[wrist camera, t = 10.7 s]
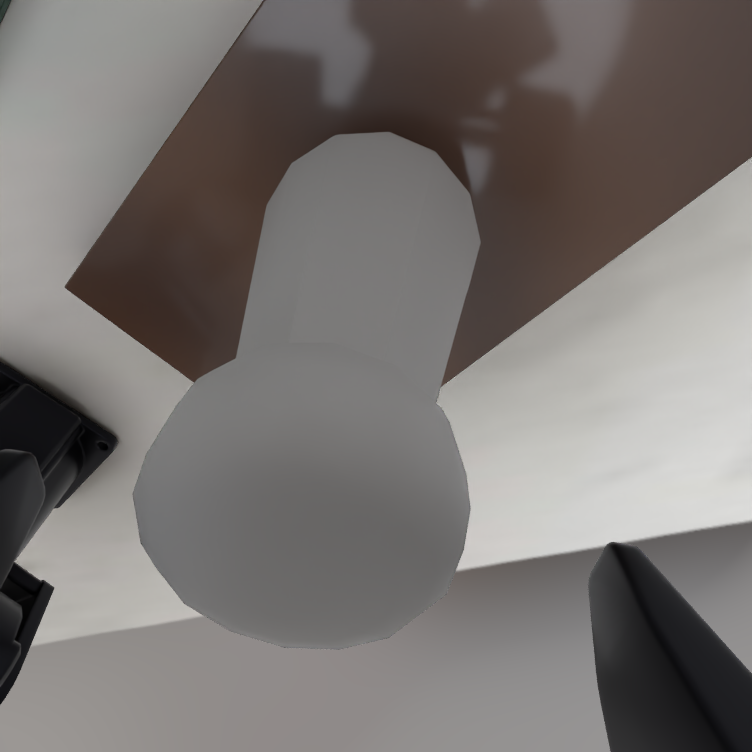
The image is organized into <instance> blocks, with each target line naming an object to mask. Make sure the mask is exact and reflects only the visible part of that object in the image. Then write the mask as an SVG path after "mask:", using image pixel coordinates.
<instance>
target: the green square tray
mask: <svg viewBox="0 0 752 752" xmlns="http://www.w3.org/2000/svg"><path fill="white" fill-rule="evenodd" d="M10 1H11V0H0V23H1V20H2V18H3V16H4V14H5V12H6V10H7V7H8V5H9V3H10Z"/></svg>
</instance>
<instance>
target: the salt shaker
mask: <svg viewBox="0 0 752 752" xmlns="http://www.w3.org/2000/svg"><path fill="white" fill-rule="evenodd" d="M480 243H481V241H480V236H479V232H478V227H477V223H476V219H475V214H474V210H473V205H472V201H471V196H470V194H469V192H468V191H467V189H466V188H465V187H464V186H463V185H462V183H461V182H460V181H459V180H458V178H457V177H456V176H455V175H454V174H453V172H452V171H451V170H450V169H449V167H448V166H447V165H446V164H445V163H444V161H443V160H442V159H441V158H440V156H439V155H438V154H437V153H436V152H435V151H433V150H431V149H429V148H426V147H424V146H421V145H419V144H417V143H414V142H412V141H410V140H407V139H405V138H403V137H400V136H398V135H396V134H393V133H391V132H376V133H358V134H339V135H335V136H333V137H331V138H330V139H328V140H327V141H325V142H323V143H322V144H320V145H319V146H317V147H316V148H314V149H313V150H311V151H310V152H308V153H307V154H305V155H304V156H302V157H301V158H299V159H297V160H296V161H294V162H293V163H291V165H290V167H289V168H288V170H287V172H286V173H285V175H284V177H283V178H282V180H281V182H280V183H279V185H278V187H277V188H276V190H275V192H274V194H273V195H272V197H271V199H270V200H269V202H268V204H267V206H266V211H265V216H264V221H263V226H262V231H261V236H260V241H259V246H258V251H257V256H256V261H255V265H254V270H253V275H252V280H251V285H250V290H249V295H248V300H247V305H246V310H245V315H244V320H243V325H242V330H241V335H240V340H239V345H238V350H237V355H236V359H234V360H232V361H230V362H228V363H226V364H224V365H222V366H220V367H218V368H216V369H214V370H212V371H211V372H209V373H207V374H205V375H203V376H202V377H200V378H198V379H197V380H196V381H195V382H194V384H193V385H192V386H191V388H190V389H189V390H188V392H187V393H186V394H185V395H184V397H183V398H182V399H181V401H180V402H179V403H178V405H177V406H176V407H175V409H174V410H173V412H172V414H171V415H170V417H169V418H168V420H167V422H166V423H165V425H164V426H163V428H162V430H161V431H160V433H159V435H158V436H157V438H156V439H155V441H154V443H153V444H152V446H151V447H150V449H149V451H148V452H147V454H146V457H145V460H144V462H143V465H142V468H141V471H140V474H139V477H138V480H137V483H136V486H135V488H134V491H133V499H134V505H135V511H136V517H137V523H138V529H139V535H140V541H141V544H142V546H143V547H144V549H145V551H146V552H147V554H148V556H149V557H150V559H151V560H152V562H153V564H154V565H155V567H156V568H157V569H158V571H159V572H160V573H161V575H162V576H163V577H164V578H165V580H166V581H167V582H168V584H169V585H170V586H171V587H172V589H173V590H174V591H175V592H176V594H177V595H178V596H179V598H180V599H181V600H182V601H183V603H184V604H186V605H187V606H189V607H191V608H192V609H194V610H196V611H197V612H199V613H201V614H202V615H204V616H206V617H207V618H209V619H211V620H212V621H214V622H216V623H217V624H219V625H221V626H223V627H224V628H226V629H227V630H229V631H231V632H234V633H238V634H241V635H244V636H248V637H251V638H254V639H257V640H261V641H264V642H267V643H271V644H274V645H278V646H281V647H284V648H310V649H338V650H339V649H344V648H348V647H352V646H357V645H361V644H365V643H369V642H374V641H378V640H382V639H387V638H389V637H391V636H392V635H393V634H395V633H396V632H397V631H399V630H400V629H401V628H403V627H404V626H405V625H407V624H408V623H409V622H411V621H412V620H413V619H415V618H416V617H417V616H419V615H420V614H421V613H423V612H424V611H425V610H427V609H428V608H429V607H431V606H432V605H433V604H434V603H436V602H437V601H438V600H440V599H441V598H442V597H444V596H445V595H446V594H447V591H448V589H449V586H450V584H451V581H452V579H453V576H454V573H455V571H456V568H457V566H458V563H459V560H460V558H461V555H462V553H463V550H464V544H465V539H466V533H467V527H468V521H469V515H470V501H469V493H468V484H467V476H466V472H465V469H464V465H463V462H462V459H461V456H460V453H459V450H458V447H457V444H456V441H455V438H454V434H453V431H452V428H451V425H450V422H449V420H448V419H447V417H446V415H445V413H444V412H443V410H442V409H441V408H440V407H439V406H438V405H437V404H436V401H437V398H438V394H439V391H440V387H441V383H442V380H443V376H444V373H445V369H446V365H447V362H448V358H449V355H450V351H451V348H452V344H453V340H454V337H455V333H456V330H457V326H458V322H459V319H460V315H461V312H462V308H463V304H464V301H465V297H466V294H467V291H468V288H469V284H470V281H471V277H472V273H473V269H474V266H475V262H476V258H477V254H478V251H479V247H480Z"/></svg>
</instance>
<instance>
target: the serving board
mask: <svg viewBox="0 0 752 752" xmlns="http://www.w3.org/2000/svg"><path fill="white" fill-rule="evenodd" d="M376 132H391V133H393V134H396V135H398V136H400V137H403V138H405V139H407V140H410V141H412V142H414V143H417V144H419V145H421V146H424V147H426V148H429V149H431V150H433V151H435V152H436V153H437V154H438V155H439V156H440V158H441V159H442V160H443V161H444V163H445V164H446V165H447V166H448V167H449V169H450V170H451V171H452V172H453V174H454V175H455V176H456V177H457V178H458V180H459V181H460V182H461V183H462V185H463V186H464V187H465V188H466V189H467V191H468V192H469V194H470V196H471V201H472V205H473V210H474V214H475V219H476V223H477V227H478V232H479V236H480V241H481V243H480V247H479V251H478V254H477V258H476V262H475V266H474V269H473V273H472V277H471V281H470V284H469V288H468V291H467V294H466V297H465V301H464V304H463V308H462V312H461V315H460V319H459V322H458V326H457V330H456V333H455V337H454V340H453V344H452V348H451V351H450V355H449V358H448V362H447V365H446V369H445V373H444V376H443V380H442V383H441V386H443V385H444V384H445V383H447V382H448V381H449V380H451V379H452V378H453V377H455V376H456V375H457V374H459V373H460V372H462V371H463V370H464V369H466V368H467V367H468V366H470V365H471V364H472V363H474V362H475V361H476V360H478V359H479V358H480V357H482V356H483V355H485V354H486V353H487V352H489V351H490V350H491V349H493V348H494V347H495V346H497V345H498V344H499V343H501V342H502V341H503V340H505V339H506V338H508V337H509V336H510V335H512V334H513V333H514V332H516V331H517V330H518V329H520V328H521V327H522V326H524V325H525V324H526V323H528V322H529V321H531V320H532V319H533V318H535V317H536V316H537V315H539V314H540V313H541V312H543V311H544V310H545V309H547V308H548V307H549V306H551V305H552V304H553V303H555V302H556V301H558V300H559V299H560V298H562V297H563V296H564V295H566V294H567V293H568V292H570V291H571V290H572V289H574V288H575V287H576V286H578V285H579V284H581V283H582V282H583V281H585V280H586V279H587V278H589V277H590V276H591V275H593V274H594V273H595V272H597V271H598V270H599V269H601V268H602V267H604V266H605V265H606V264H608V263H609V262H610V261H612V260H613V259H614V258H616V257H617V256H618V255H620V254H621V253H622V252H624V251H625V250H627V249H628V248H629V247H631V246H632V245H633V244H635V243H636V242H637V241H639V240H640V239H641V238H643V237H644V236H645V235H647V234H648V233H650V232H651V231H652V230H654V229H655V228H656V227H658V226H659V225H660V224H662V223H663V222H664V221H666V220H667V219H668V218H670V217H671V216H673V215H674V214H675V213H677V212H678V211H679V210H681V209H682V208H683V207H685V206H686V205H687V204H689V203H690V202H691V201H693V200H694V199H696V198H697V197H698V196H700V195H701V194H702V193H704V192H705V191H706V190H708V189H709V188H710V187H712V186H713V185H714V184H716V183H717V182H719V181H720V180H721V179H723V178H724V177H725V176H727V175H728V174H729V173H731V172H732V171H733V170H735V169H736V168H737V167H739V166H740V165H742V164H743V163H744V162H746V161H747V160H748V159H750V158H751V157H752V0H263V2H262V3H261V5H260V6H259V7H258V9H257V10H256V12H255V13H254V15H253V16H252V18H251V19H250V20H249V22H248V23H247V25H246V26H245V28H244V29H243V30H242V32H241V33H240V35H239V36H238V38H237V39H236V41H235V42H234V43H233V45H232V46H231V48H230V49H229V51H228V52H227V54H226V55H225V56H224V58H223V59H222V61H221V62H220V64H219V65H218V66H217V68H216V69H215V71H214V72H213V74H212V75H211V77H210V78H209V79H208V81H207V82H206V84H205V85H204V87H203V88H202V89H201V91H200V92H199V94H198V95H197V97H196V98H195V100H194V101H193V102H192V104H191V105H190V107H189V108H188V110H187V111H186V113H185V114H184V115H183V117H182V118H181V120H180V121H179V123H178V124H177V125H176V127H175V128H174V130H173V131H172V133H171V134H170V136H169V137H168V138H167V140H166V141H165V143H164V144H163V146H162V147H161V149H160V150H159V151H158V153H157V154H156V156H155V157H154V159H153V160H152V161H151V163H150V164H149V166H148V167H147V169H146V170H145V172H144V173H143V174H142V176H141V177H140V179H139V180H138V182H137V183H136V185H135V186H134V187H133V189H132V190H131V192H130V193H129V195H128V196H127V197H126V199H125V200H124V202H123V203H122V205H121V206H120V208H119V209H118V210H117V212H116V213H115V215H114V216H113V218H112V219H111V221H110V222H109V223H108V225H107V226H106V228H105V229H104V231H103V232H102V233H101V235H100V236H99V238H98V239H97V241H96V242H95V244H94V245H93V246H92V248H91V249H90V251H89V252H88V254H87V255H86V257H85V258H84V259H83V261H82V262H81V264H80V265H79V267H78V268H77V269H76V271H75V272H74V274H73V275H72V277H71V278H70V280H69V281H68V282H67V284H66V285H65V288H66V289H67V290H68V291H70V292H71V293H73V294H74V295H75V296H77V297H78V298H79V299H81V300H82V301H83V302H85V303H86V304H88V305H89V306H90V307H92V308H93V309H94V310H96V311H97V312H98V313H100V314H101V315H103V316H104V317H105V318H107V319H108V320H109V321H111V322H112V323H114V324H115V325H116V326H118V327H119V328H120V329H122V330H123V331H124V332H126V333H127V334H129V335H130V336H131V337H133V338H134V339H135V340H137V341H138V342H139V343H141V344H142V345H144V346H145V347H146V348H148V349H149V350H150V351H152V352H153V353H154V354H156V355H157V356H159V357H160V358H161V359H163V360H164V361H165V362H167V363H168V364H170V365H171V366H172V367H174V368H175V369H176V370H178V371H179V372H180V373H182V374H183V375H185V376H186V377H187V378H189V379H190V380H191V381H193V382H195V381H196V380H197V379H198V378H200V377H202V376H203V375H205V374H207V373H209V372H211V371H212V370H214V369H216V368H218V367H220V366H222V365H224V364H226V363H228V362H230V361H232V360H234V359H236V355H237V350H238V345H239V340H240V335H241V330H242V325H243V320H244V315H245V310H246V305H247V300H248V295H249V290H250V285H251V280H252V275H253V270H254V265H255V261H256V256H257V251H258V246H259V241H260V236H261V231H262V226H263V221H264V216H265V211H266V206H267V204H268V202H269V200H270V199H271V197H272V195H273V194H274V192H275V190H276V188H277V187H278V185H279V183H280V182H281V180H282V178H283V177H284V175H285V173H286V172H287V170H288V168H289V167H290V165H291V163H293V162H294V161H296V160H297V159H299V158H301V157H302V156H304V155H305V154H307V153H308V152H310V151H311V150H313V149H314V148H316V147H317V146H319V145H320V144H322V143H323V142H325V141H327V140H328V139H330V138H331V137H333V136H335V135H339V134H358V133H376Z"/></svg>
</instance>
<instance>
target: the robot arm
mask: <svg viewBox="0 0 752 752" xmlns="http://www.w3.org/2000/svg"><path fill="white" fill-rule="evenodd" d="M105 443H106V444H105ZM117 444H118V443H117V440H116V438H115V437H114V436H113V435H112V434H110V433H109V432H107V431H106V430H104V429H103V428H101V427H99V426H98V425H96V424H95V423H93V422H92V421H90V420H89V419H87V418H86V417H84V416H83V415H81V414H80V413H78V412H77V411H75V410H74V409H72V408H70V407H69V406H67V405H66V404H64V403H63V402H61V401H60V400H58V399H57V398H55V397H54V396H52V395H51V394H49V393H48V392H46V391H44V390H43V389H41V388H40V387H38V386H37V385H35V384H34V383H32V382H31V381H29V380H28V379H26V378H25V377H23V376H22V375H20V374H19V373H17V372H15V371H14V370H12V369H11V368H9V367H8V366H6V365H5V364H3V363H2V362H0V704H1V703H2V702H3V700H4V699H5V698H6V696H7V694H8V693H9V691H10V689H11V688H12V686H13V684H14V682H15V680H16V678H17V676H18V674H19V672H20V670H21V667H22V665H23V663H24V660H25V658H26V655H27V653H28V651H29V648H30V646H31V643H32V641H33V638H34V636H35V634H36V631H37V629H38V626H39V624H40V622H41V619H42V617H43V614H44V612H45V610H46V607H47V605H48V602H49V600H50V597H51V595H52V593H53V590H54V587H53V586H51V585H50V584H49V583H47V582H46V581H44V580H41V581H40V580H39V579H37V578H36V577H34V576H33V575H32V574H30V573H29V572H27V571H26V570H25V569H23V568H22V567H21V566H19V565H18V564H16V563H15V562H14V561H15V560H16V559H17V557H18V556H19V554H20V553H21V552H22V550H23V549H24V548H25V546H26V545H27V544H28V542H29V541H30V540H31V538H32V537H33V536H34V534H35V533H36V531H37V530H38V529H39V527H40V526H41V525H42V523H43V522H44V521H45V519H46V518H47V517H48V515H49V514H50V513H51V511H52V510H53V508H59V507H60V506H61V505H62V504H63V503H64V502H65V501H66V500H67V499H68V498H69V497H70V496H71V495H72V494H73V493H74V492H75V490H76V489H77V488H78V487H79V486H80V485H81V484H82V483H83V482H84V481H85V480H86V479H87V478H88V477H89V476H90V475H91V474H92V473H93V472H94V471H95V470H96V469H97V468H98V467H99V466H100V464H101V463H102V462H103V461H104V460H105V459H106V458H107V457H108V456H109V455H110V454H111V453H112V452H113V450H114V449H115V448H116V446H117ZM588 588H589V599H590V610H591V621H592V632H593V643H594V653H595V665H596V674H597V683H598V690H599V695H600V700H601V706H602V711H603V715H604V721H605V726H606V731H607V735H608V741H609V746H610V751H611V752H752V673H751V672H750V671H749V670H748V669H747V668H746V667H745V666H744V665H743V663H742V662H741V661H740V660H739V659H738V658H737V657H736V656H735V654H734V653H733V652H732V651H731V650H730V649H729V648H728V647H727V646H726V644H725V643H724V642H723V641H722V640H721V639H720V638H719V637H718V635H717V634H716V633H715V632H714V631H713V630H712V629H711V628H710V627H709V625H708V624H707V623H706V622H705V621H704V620H703V619H702V618H701V617H700V615H699V614H698V613H697V612H696V611H695V610H694V609H693V608H692V606H691V605H690V604H689V603H688V602H687V601H686V600H685V599H684V598H683V596H682V595H681V594H680V593H679V592H678V591H677V590H676V589H675V588H674V586H673V585H672V584H671V583H670V582H669V581H668V580H667V579H666V577H665V576H664V575H663V574H662V573H661V572H660V571H659V570H658V569H657V568H656V567H655V565H654V564H653V563H652V562H651V561H650V560H649V558H648V557H647V556H646V555H645V554H644V553H643V552H642V551H641V550H640V549H639V548H638V547H636V546H634V545H629V544H623V543H616V542H611V543H609V544H607V545H606V547H605V548H604V550H603V552H602V553H601V556H600V557H599V559H598V561H597V562H596V564H595V566H594V568H593V570H592V571H591V574H590V577H589V585H588Z"/></svg>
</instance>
